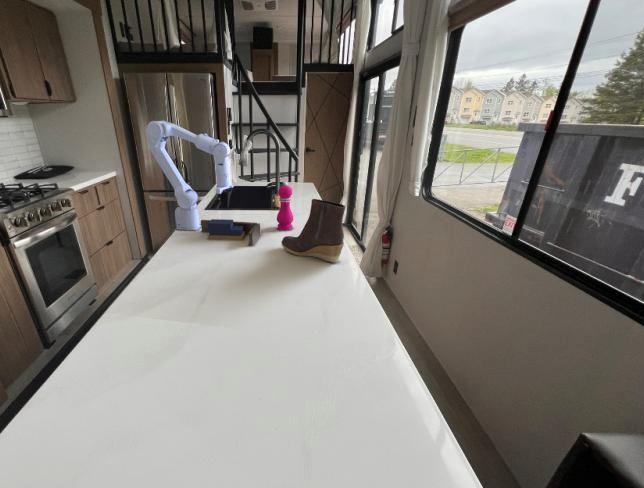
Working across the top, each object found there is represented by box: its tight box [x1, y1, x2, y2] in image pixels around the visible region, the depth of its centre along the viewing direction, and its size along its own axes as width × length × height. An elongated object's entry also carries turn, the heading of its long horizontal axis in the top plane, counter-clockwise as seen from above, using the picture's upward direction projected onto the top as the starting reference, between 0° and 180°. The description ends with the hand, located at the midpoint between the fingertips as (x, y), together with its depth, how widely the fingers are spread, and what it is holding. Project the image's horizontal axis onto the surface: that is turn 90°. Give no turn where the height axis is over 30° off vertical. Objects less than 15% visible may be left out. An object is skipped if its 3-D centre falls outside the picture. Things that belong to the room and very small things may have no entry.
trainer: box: [207, 218, 246, 241], centre depth 130 cm, size 14×6×6 cm, turn 84°
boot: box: [281, 198, 347, 264], centre depth 110 cm, size 9×24×20 cm, turn 53°
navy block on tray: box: [200, 219, 261, 247], centre depth 130 cm, size 26×13×5 cm, turn 78°
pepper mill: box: [276, 181, 294, 232], centre depth 136 cm, size 7×7×20 cm
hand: (225, 207), depth 138 cm, fingers closed
